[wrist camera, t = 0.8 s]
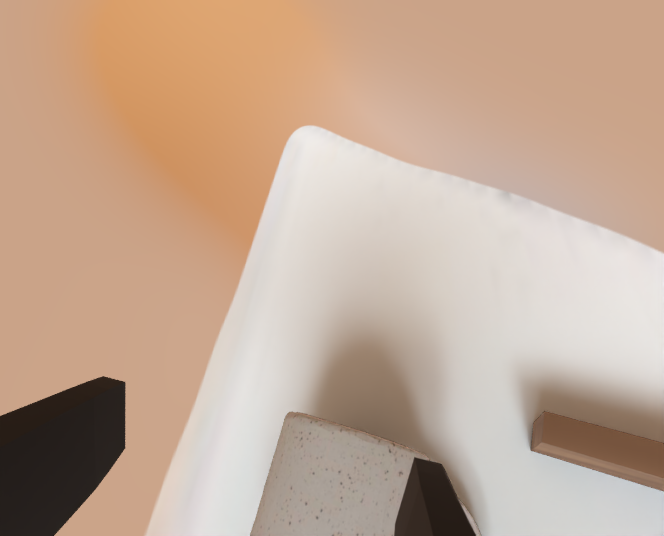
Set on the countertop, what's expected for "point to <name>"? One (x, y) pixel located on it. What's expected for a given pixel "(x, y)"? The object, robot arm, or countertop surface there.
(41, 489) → the robot arm
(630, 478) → the brown wooden tray
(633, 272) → the countertop surface
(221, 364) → the countertop surface
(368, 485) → the ceramic mug
